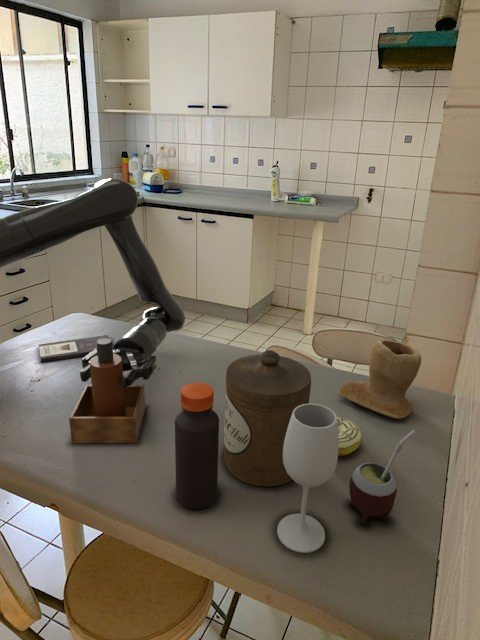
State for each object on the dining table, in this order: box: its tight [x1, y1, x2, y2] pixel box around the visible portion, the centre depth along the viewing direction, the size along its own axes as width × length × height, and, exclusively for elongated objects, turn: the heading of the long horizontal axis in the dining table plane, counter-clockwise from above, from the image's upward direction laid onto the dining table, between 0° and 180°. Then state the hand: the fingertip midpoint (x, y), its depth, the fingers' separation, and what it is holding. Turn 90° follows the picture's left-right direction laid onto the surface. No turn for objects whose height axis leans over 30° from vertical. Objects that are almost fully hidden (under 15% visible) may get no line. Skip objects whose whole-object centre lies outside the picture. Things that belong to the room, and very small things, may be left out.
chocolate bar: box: [38, 334, 114, 363], centre depth 124 cm, size 9×1×18 cm
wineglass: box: [276, 403, 339, 554], centre depth 66 cm, size 8×8×21 cm
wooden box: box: [68, 384, 146, 444], centre depth 93 cm, size 12×12×6 cm
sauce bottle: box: [89, 338, 126, 417], centre depth 90 cm, size 6×6×18 cm
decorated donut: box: [336, 415, 362, 457], centre depth 90 cm, size 10×11×4 cm
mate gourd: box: [348, 429, 417, 527], centre depth 72 cm, size 8×8×15 cm
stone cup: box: [337, 339, 422, 420], centre depth 102 cm, size 15×12×15 cm
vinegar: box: [174, 382, 220, 510], centre depth 73 cm, size 7×7×20 cm
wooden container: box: [223, 349, 312, 488], centre depth 81 cm, size 15×15×22 cm
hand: (103, 380), depth 88 cm, fingers open, 8 cm apart
